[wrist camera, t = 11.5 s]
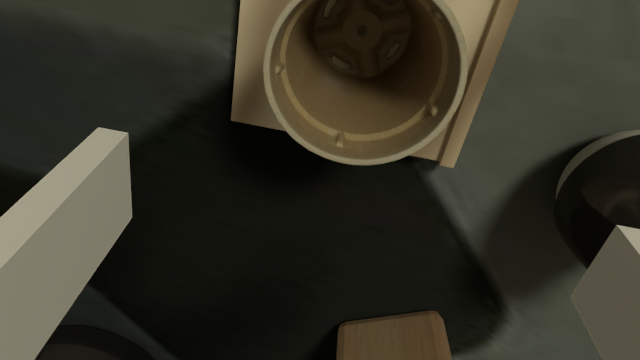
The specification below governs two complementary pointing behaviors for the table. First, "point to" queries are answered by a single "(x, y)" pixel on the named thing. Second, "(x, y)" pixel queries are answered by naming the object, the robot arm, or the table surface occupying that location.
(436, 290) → the table surface
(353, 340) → the wooden block
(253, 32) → the board
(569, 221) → the black egg-shaped piece
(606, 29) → the table surface
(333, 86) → the flower pot
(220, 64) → the table surface
